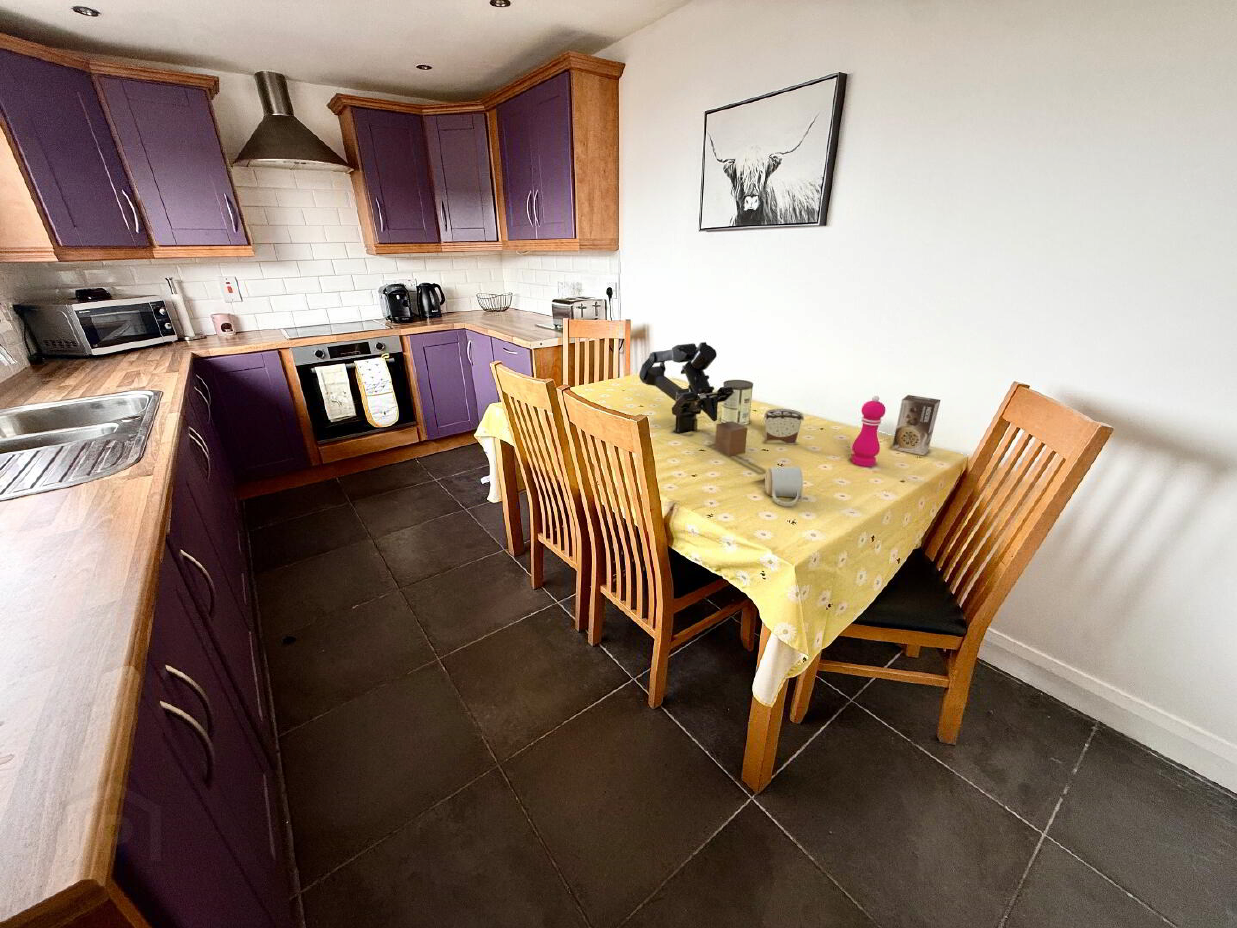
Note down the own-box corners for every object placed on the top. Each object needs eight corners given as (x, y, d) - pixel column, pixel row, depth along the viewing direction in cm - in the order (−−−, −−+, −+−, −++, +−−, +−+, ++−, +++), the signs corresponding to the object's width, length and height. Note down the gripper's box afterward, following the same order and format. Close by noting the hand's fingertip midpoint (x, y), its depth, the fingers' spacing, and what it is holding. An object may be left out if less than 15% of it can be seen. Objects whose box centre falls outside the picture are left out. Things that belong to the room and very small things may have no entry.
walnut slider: (714, 448, 153) (716, 424, 150) (730, 445, 156) (732, 421, 153) (729, 456, 147) (731, 431, 144) (745, 452, 150) (747, 427, 147)
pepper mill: (875, 459, 148) (888, 393, 140) (878, 468, 141) (892, 400, 133) (848, 456, 150) (860, 391, 142) (850, 465, 144) (863, 398, 136)
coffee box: (929, 450, 154) (942, 399, 147) (923, 456, 149) (936, 404, 143) (896, 443, 159) (908, 394, 153) (890, 448, 155) (901, 398, 149)
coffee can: (726, 415, 188) (729, 378, 182) (753, 419, 183) (757, 381, 177) (716, 422, 180) (718, 384, 174) (743, 427, 175) (747, 388, 169)
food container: (796, 437, 165) (800, 408, 161) (800, 444, 159) (804, 414, 155) (758, 436, 166) (761, 407, 162) (761, 443, 161) (764, 413, 157)
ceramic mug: (762, 487, 131) (765, 461, 128) (794, 488, 130) (798, 461, 127) (769, 507, 121) (773, 479, 118) (804, 508, 121) (809, 480, 117)
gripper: (708, 387, 171) (726, 427, 166) (662, 394, 163) (679, 437, 158) (725, 369, 161) (744, 411, 156) (676, 376, 153) (694, 420, 149)
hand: (715, 420), depth 155 cm, fingers closed
